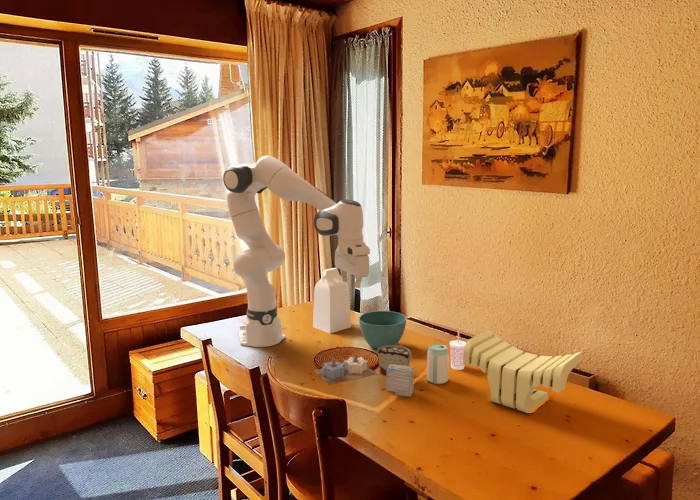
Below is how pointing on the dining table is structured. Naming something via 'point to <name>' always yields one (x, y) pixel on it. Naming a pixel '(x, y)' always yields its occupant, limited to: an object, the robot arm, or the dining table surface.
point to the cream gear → (355, 365)
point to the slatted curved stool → (517, 371)
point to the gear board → (346, 374)
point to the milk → (331, 303)
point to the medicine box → (400, 380)
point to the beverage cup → (457, 353)
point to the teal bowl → (382, 328)
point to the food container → (393, 356)
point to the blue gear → (333, 370)
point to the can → (437, 364)
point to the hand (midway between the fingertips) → (351, 284)
